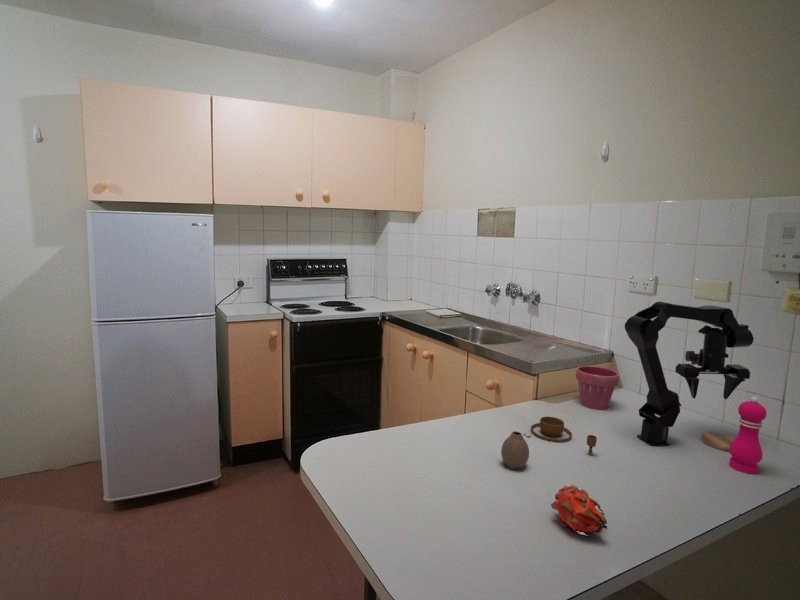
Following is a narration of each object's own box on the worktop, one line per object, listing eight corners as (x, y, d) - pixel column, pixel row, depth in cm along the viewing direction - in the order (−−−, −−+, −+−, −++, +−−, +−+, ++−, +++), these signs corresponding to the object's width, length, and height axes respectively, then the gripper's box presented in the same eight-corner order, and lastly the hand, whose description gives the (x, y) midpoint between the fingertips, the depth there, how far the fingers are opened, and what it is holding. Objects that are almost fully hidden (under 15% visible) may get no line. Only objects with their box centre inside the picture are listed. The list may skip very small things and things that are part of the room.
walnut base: (721, 453, 135) (722, 448, 135) (692, 436, 146) (693, 432, 145) (754, 452, 137) (755, 447, 136) (723, 436, 147) (724, 431, 147)
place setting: (573, 429, 148) (575, 411, 147) (599, 459, 128) (601, 439, 127) (517, 426, 148) (519, 408, 147) (534, 456, 128) (536, 435, 127)
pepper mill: (750, 477, 121) (763, 402, 119) (721, 464, 128) (732, 393, 125) (765, 471, 125) (777, 399, 122) (735, 459, 131) (746, 390, 128)
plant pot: (568, 396, 177) (572, 363, 176) (607, 399, 176) (611, 366, 174) (579, 410, 163) (583, 374, 162) (621, 413, 162) (625, 378, 160)
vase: (529, 463, 123) (533, 431, 121) (525, 474, 116) (528, 441, 115) (503, 456, 125) (506, 425, 124) (497, 467, 119) (500, 434, 118)
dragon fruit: (552, 515, 102) (599, 555, 93) (535, 504, 97) (583, 545, 88) (574, 483, 103) (623, 519, 93) (558, 470, 98) (608, 507, 89)
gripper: (730, 342, 147) (724, 389, 149) (668, 341, 148) (664, 388, 151) (754, 351, 136) (748, 402, 138) (687, 350, 137) (682, 401, 140)
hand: (709, 398), depth 142 cm, fingers open, 9 cm apart
